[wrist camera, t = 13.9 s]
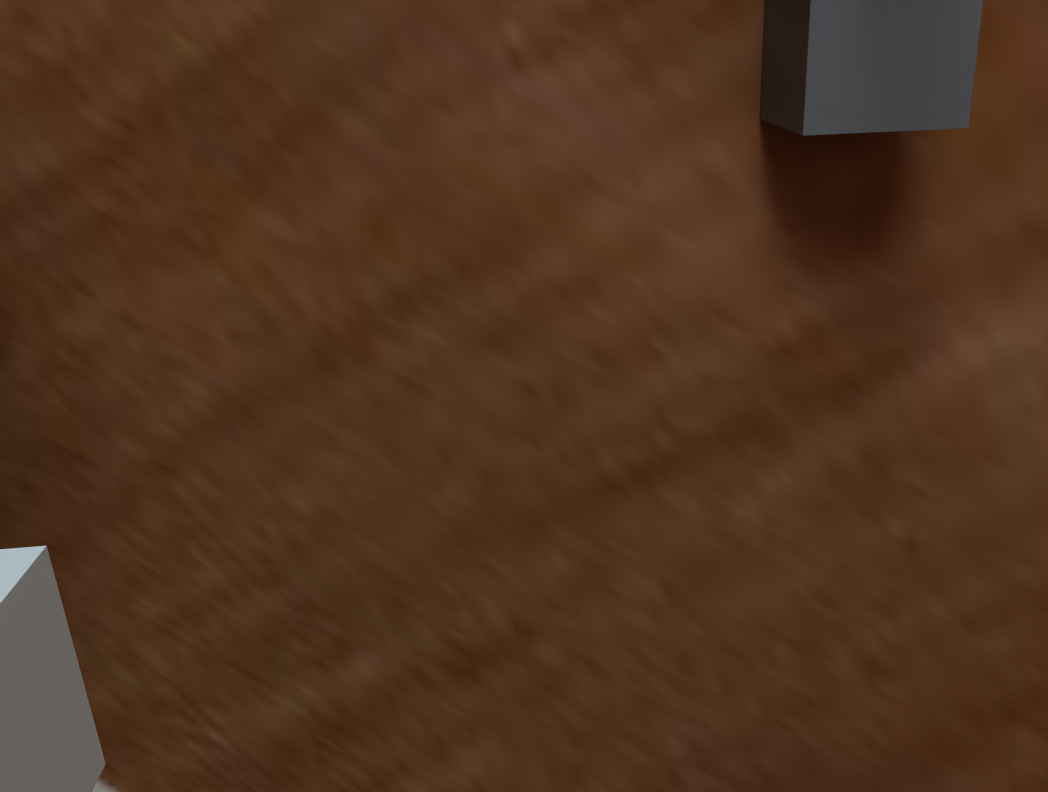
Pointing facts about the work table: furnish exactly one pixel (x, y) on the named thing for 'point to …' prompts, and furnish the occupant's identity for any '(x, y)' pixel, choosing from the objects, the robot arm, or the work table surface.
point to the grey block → (868, 65)
